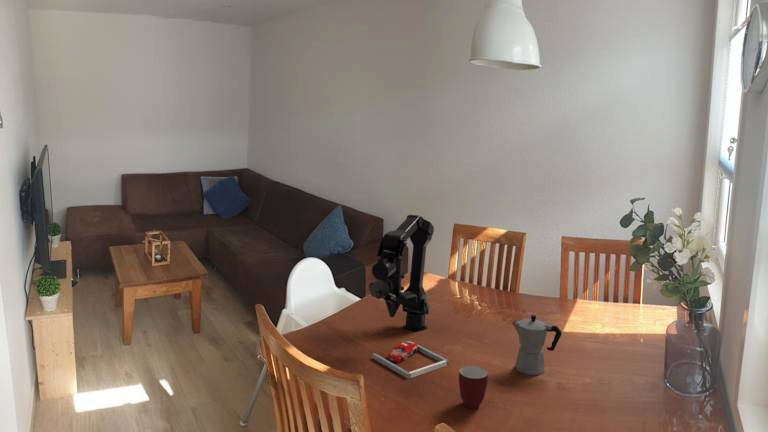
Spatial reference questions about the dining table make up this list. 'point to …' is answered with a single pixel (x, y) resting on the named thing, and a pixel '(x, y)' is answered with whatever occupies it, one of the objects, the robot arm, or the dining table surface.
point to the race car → (402, 351)
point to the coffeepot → (533, 344)
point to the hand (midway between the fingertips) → (392, 316)
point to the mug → (473, 385)
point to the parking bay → (417, 372)
